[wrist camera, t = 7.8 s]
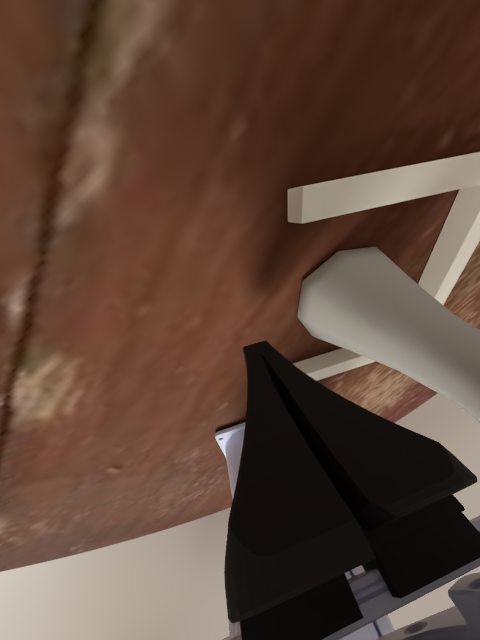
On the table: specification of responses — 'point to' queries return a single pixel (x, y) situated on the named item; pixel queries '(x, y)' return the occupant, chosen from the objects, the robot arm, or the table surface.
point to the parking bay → (388, 188)
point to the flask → (392, 323)
